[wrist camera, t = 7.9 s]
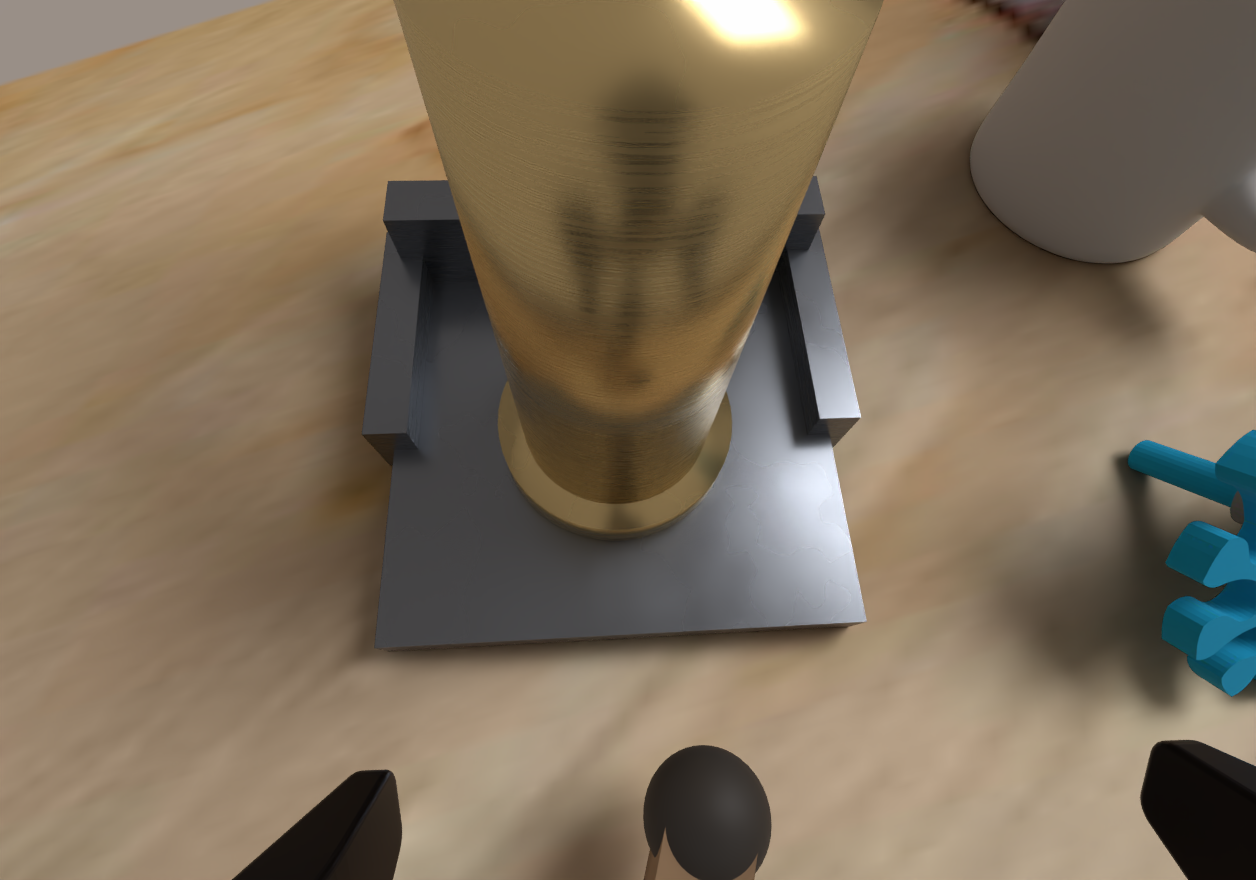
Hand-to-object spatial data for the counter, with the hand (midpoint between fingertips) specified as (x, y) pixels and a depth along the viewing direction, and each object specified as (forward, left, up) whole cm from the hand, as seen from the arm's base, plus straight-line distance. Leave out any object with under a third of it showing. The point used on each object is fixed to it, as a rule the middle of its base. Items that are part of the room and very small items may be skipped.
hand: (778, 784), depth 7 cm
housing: (+8, +4, -9) cm, 12 cm away
